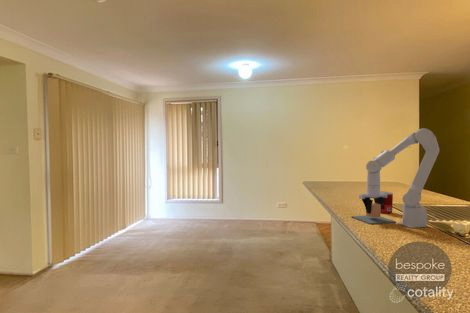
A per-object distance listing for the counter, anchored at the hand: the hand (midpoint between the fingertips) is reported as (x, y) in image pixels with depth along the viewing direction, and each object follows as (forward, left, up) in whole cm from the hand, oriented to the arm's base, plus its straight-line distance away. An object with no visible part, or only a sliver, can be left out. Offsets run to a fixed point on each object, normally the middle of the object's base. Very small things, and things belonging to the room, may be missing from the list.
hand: (373, 212), depth 146 cm
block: (0, 0, -2) cm, 2 cm away
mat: (0, 0, -3) cm, 3 cm away
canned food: (-18, -13, -4) cm, 23 cm away
